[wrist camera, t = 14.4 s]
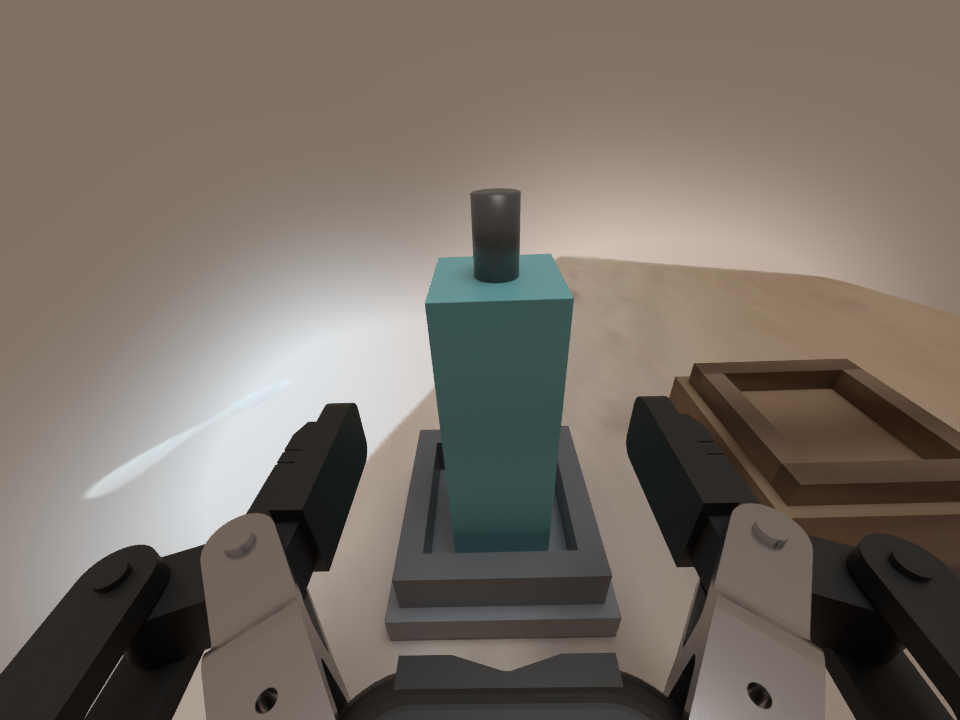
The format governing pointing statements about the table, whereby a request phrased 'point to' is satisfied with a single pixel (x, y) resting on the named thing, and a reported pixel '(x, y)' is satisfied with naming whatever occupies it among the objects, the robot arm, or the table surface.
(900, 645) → the robot arm
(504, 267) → the plug block
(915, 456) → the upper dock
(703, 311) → the table surface
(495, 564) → the lower dock
